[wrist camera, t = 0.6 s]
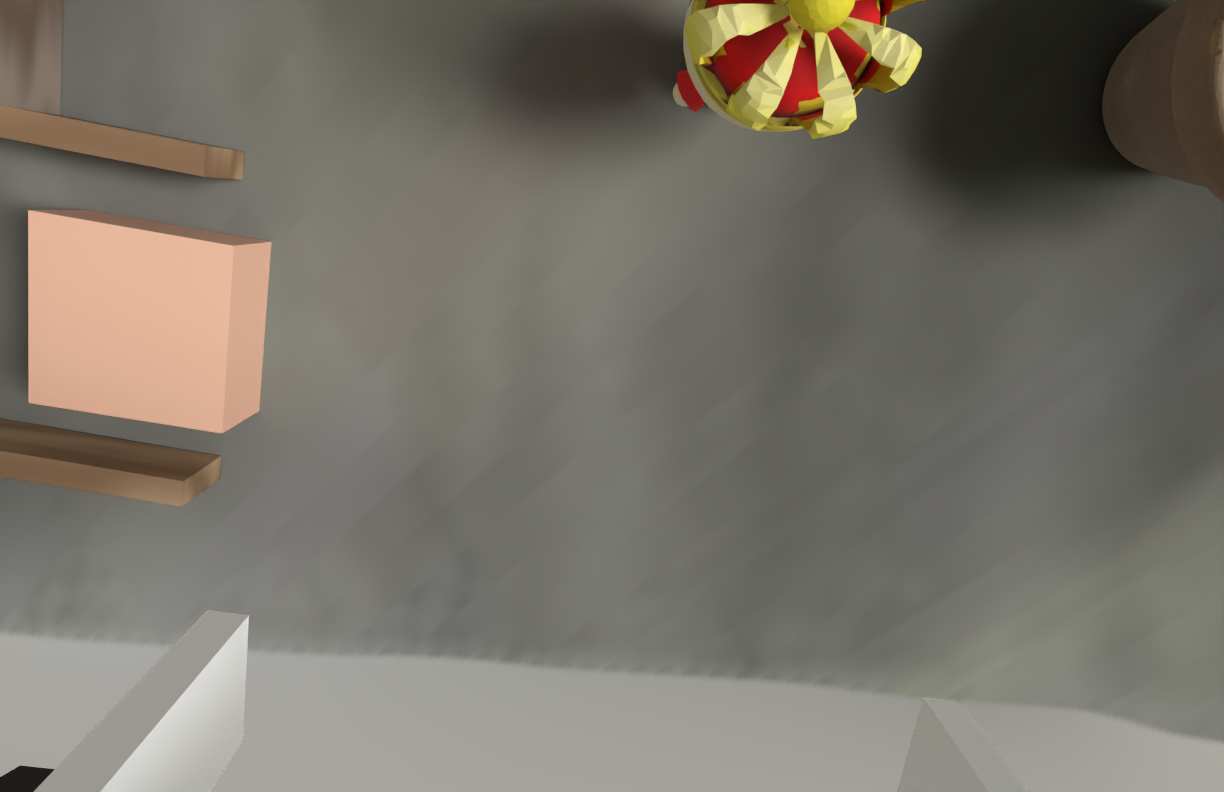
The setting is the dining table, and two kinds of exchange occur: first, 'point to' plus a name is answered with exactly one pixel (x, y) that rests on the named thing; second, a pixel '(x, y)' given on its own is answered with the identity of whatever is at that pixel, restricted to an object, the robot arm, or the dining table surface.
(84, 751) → the robot arm
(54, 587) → the dining table surface
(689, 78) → the toy
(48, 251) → the block
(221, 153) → the wooden tray frame
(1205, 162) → the flower pot
